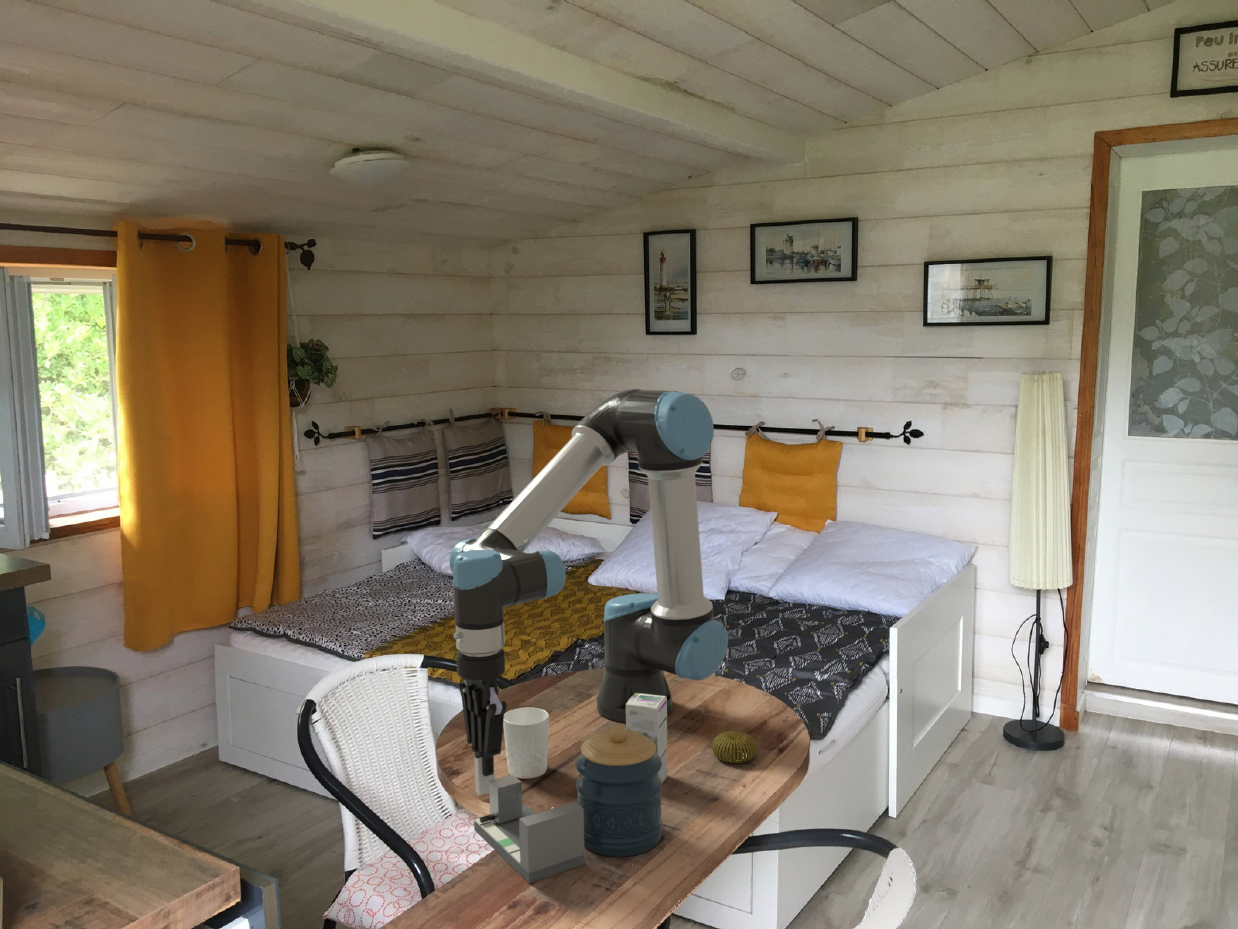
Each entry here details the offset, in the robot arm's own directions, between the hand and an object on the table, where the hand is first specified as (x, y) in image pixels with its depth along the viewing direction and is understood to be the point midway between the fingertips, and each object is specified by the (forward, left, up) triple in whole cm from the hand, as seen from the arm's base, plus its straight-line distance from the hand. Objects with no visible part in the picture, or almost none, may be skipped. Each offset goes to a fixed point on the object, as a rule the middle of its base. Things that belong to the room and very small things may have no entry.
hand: (485, 791), depth 163 cm
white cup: (-12, -9, -3) cm, 15 cm away
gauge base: (0, +14, -3) cm, 15 cm away
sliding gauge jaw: (+1, +7, -1) cm, 7 cm away
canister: (-13, +19, -3) cm, 24 cm away
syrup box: (-27, +6, -3) cm, 28 cm away
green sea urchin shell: (-45, +7, -3) cm, 46 cm away
